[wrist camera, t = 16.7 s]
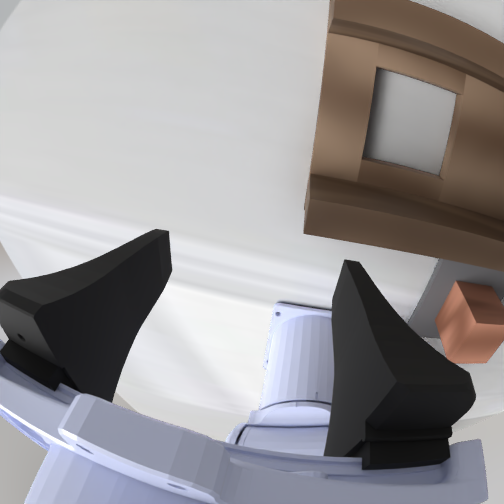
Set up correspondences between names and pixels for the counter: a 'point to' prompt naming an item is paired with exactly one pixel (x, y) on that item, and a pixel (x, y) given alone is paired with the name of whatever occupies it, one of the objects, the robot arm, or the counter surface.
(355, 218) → the brown tray
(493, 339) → the block
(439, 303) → the mat
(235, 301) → the counter surface
